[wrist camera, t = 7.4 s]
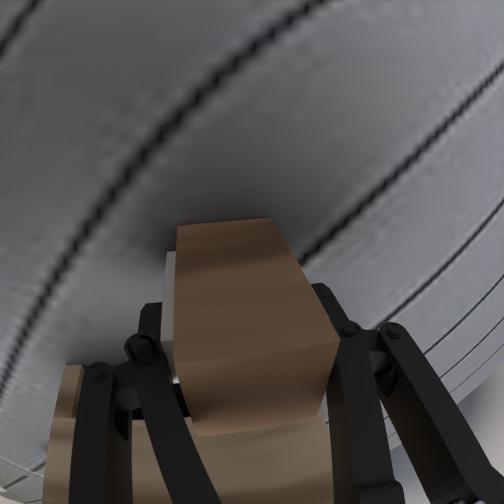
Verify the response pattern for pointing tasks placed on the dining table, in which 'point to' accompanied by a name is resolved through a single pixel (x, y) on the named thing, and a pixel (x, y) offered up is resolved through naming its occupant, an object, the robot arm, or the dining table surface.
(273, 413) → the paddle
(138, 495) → the cabinet
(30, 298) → the dining table surface
